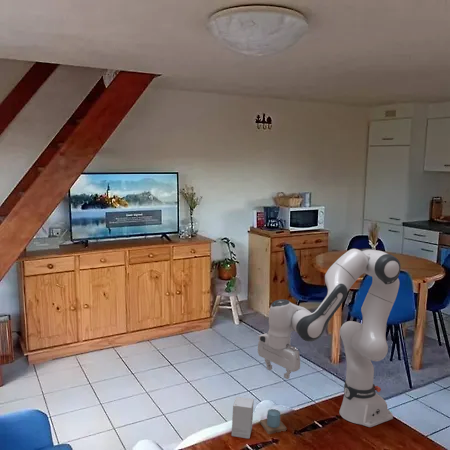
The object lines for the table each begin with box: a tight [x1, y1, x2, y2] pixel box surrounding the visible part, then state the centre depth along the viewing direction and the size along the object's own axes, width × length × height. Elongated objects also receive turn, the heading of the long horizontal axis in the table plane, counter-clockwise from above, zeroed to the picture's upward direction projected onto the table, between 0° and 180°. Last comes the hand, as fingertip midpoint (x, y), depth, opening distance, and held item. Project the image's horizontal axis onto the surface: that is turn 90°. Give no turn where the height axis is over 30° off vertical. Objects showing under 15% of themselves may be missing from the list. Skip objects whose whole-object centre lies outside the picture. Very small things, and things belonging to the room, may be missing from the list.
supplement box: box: [231, 396, 255, 439], centre depth 176 cm, size 7×7×13 cm
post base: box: [259, 418, 288, 435], centre depth 181 cm, size 8×8×4 cm
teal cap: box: [266, 408, 281, 428], centre depth 181 cm, size 5×5×5 cm
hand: (277, 373), depth 180 cm, fingers open, 8 cm apart
